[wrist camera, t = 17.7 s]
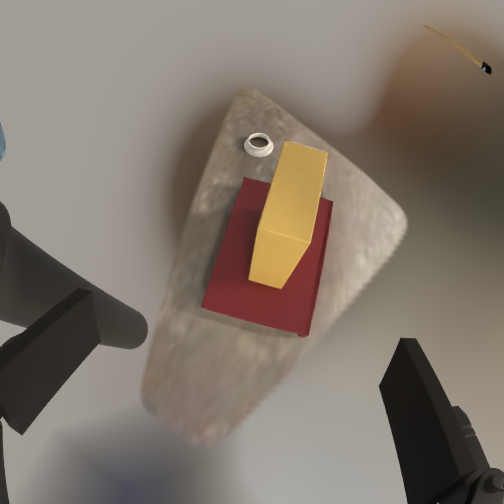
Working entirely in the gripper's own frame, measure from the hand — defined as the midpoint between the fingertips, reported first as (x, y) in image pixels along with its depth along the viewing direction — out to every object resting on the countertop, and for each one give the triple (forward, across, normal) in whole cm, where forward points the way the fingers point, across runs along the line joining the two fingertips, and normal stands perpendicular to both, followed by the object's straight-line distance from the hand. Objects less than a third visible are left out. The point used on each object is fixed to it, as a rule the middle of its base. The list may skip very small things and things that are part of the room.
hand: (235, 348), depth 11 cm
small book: (+20, +1, -3) cm, 20 cm away
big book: (+23, 0, -5) cm, 24 cm away
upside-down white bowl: (+34, -3, +7) cm, 35 cm away
